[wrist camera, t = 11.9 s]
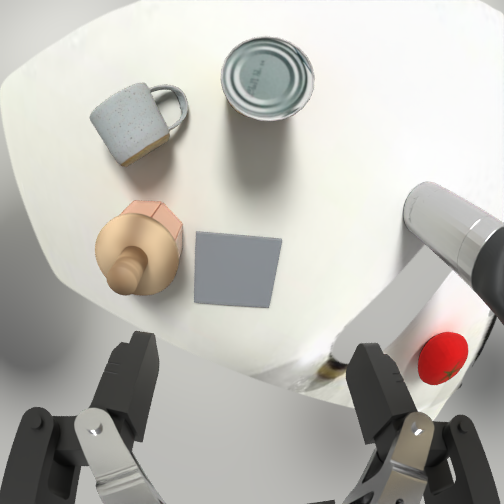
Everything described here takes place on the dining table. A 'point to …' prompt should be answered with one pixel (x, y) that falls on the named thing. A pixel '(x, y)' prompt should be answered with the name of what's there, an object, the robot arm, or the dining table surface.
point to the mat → (235, 269)
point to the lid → (136, 254)
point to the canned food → (267, 78)
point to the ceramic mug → (134, 122)
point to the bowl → (159, 217)
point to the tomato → (442, 358)
